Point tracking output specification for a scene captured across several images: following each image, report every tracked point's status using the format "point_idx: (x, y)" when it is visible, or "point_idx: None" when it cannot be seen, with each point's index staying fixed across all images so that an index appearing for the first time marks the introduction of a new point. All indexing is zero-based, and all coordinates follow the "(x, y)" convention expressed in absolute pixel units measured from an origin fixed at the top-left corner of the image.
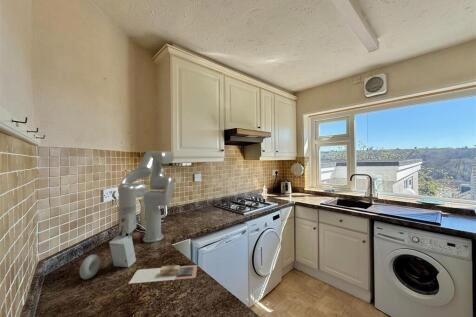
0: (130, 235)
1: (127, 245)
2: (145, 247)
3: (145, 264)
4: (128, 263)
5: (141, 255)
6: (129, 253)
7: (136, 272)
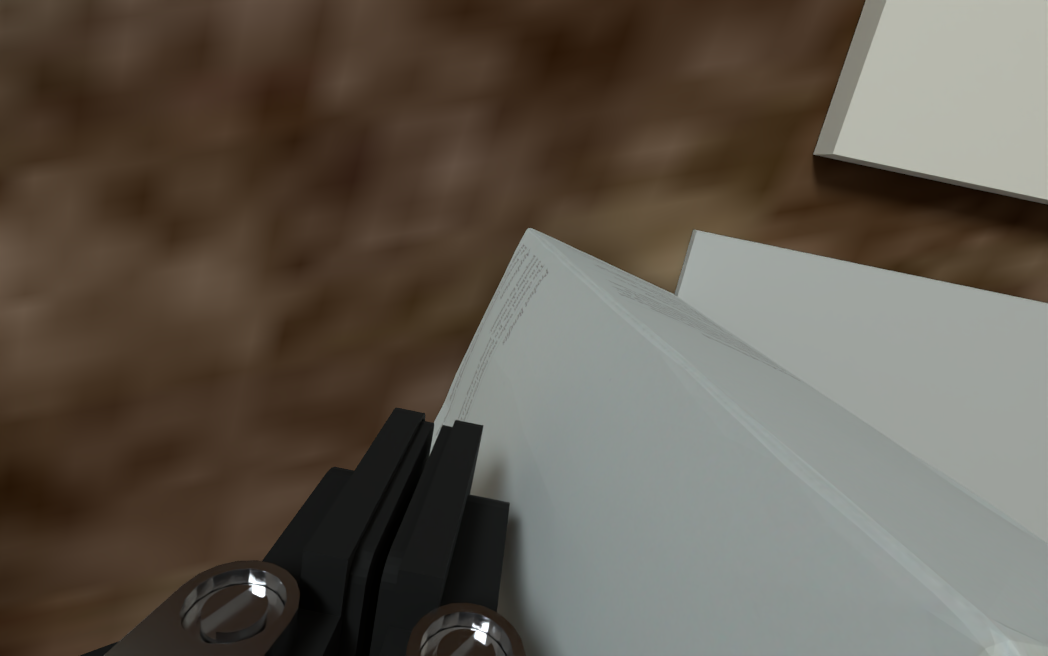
0: (292, 635)
1: (1003, 530)
2: (8, 150)
3: (624, 63)
4: (707, 318)
5: (297, 176)
6: (751, 360)
7: (908, 157)
